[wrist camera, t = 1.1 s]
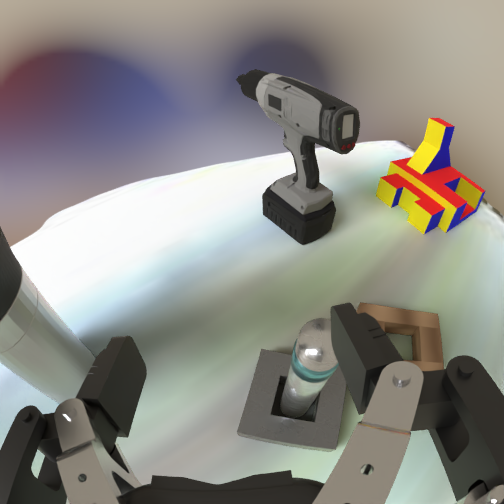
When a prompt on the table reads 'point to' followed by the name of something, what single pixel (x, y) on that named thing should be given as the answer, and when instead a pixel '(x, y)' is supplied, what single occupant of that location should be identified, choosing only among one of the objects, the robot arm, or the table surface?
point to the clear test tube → (308, 367)
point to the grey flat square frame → (286, 429)
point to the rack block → (412, 332)
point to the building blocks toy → (431, 184)
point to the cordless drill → (302, 149)
